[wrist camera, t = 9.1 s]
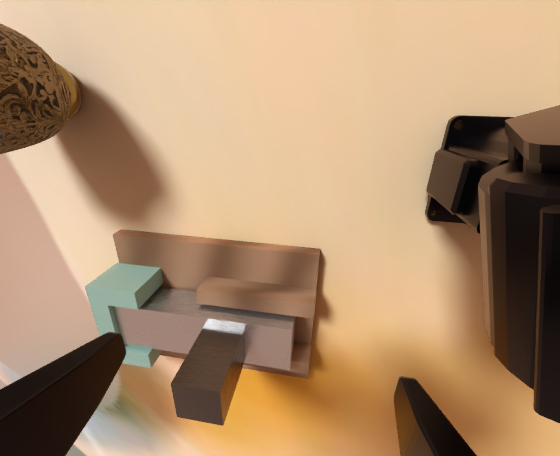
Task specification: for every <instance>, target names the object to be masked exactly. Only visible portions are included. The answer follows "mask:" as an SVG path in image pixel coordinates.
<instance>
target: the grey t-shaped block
mask: <svg viewBox="0 0 560 456" xmlns="http://www.w3.org/2000/svg"><path fill="white" fill-rule="evenodd" d="M113 308H114V312H115V316H116V320H117V323H118V327H119V331H120V334H121V335H122V337H123V340H124V344H126V345H133V346H139V347H145V348H152V349H158V350H165V351H171V352H177V353H184V354H188V355H187V356H186V358H185V360H184V362H183V363H182V365H181V367H180V369H179V370H178V372H177V374H176V376H175V377H174V379H173V381H172V383H171V387H172V392H173V398H174V403H175V408H176V414H177V417H180V418H186V419H191V420H196V421H201V422H207V423H212V424H217V425H222V426H223V425H224V422H225V419H226V416H227V413H228V410H229V406H230V403H231V400H232V397H233V394H234V391H235V388H236V385H237V382H238V379H239V376H240V373H241V370H242V367H243V364H244V363H247V364H253V365H260V366H266V367H272V368H279V369H285V370H290V366H291V359H292V352H293V346H294V334H295V318H296V316H289V315H281V314H274V313H266V312H259V311H251V310H243V309H236V308H228V307H220V306H213V305H205V304H198V303H197V295H196V292H192V291H184V290H176V289H168V288H160V287H159V288H158V289H157V290H156V291H155V292H154V293H153V294H152V295H151V296H150V297H149V299H148V300H147V301H146V302H145V303H144V304H143V305H142V306H141V307H140V308H139V309H138V310H137V309H129V308H122V307H115V306H113Z"/></svg>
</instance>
